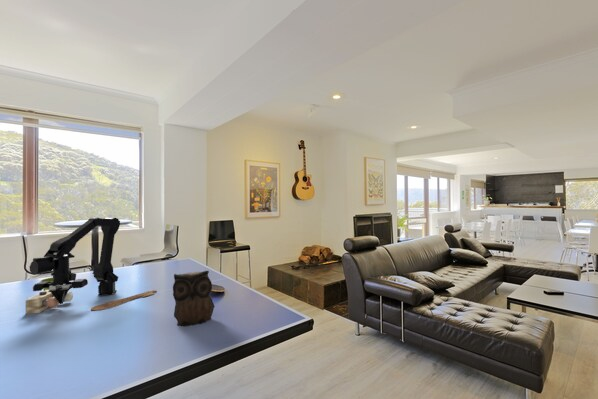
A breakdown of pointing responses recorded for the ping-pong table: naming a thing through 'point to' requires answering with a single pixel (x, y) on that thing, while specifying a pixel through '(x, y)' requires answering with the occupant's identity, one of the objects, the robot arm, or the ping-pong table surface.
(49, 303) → the knob
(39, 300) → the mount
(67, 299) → the knob
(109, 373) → the ping-pong table surface
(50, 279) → the plant pot
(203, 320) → the owl
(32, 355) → the ping-pong table surface
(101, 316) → the ping-pong table surface
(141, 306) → the ping-pong table surface
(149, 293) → the paddle
